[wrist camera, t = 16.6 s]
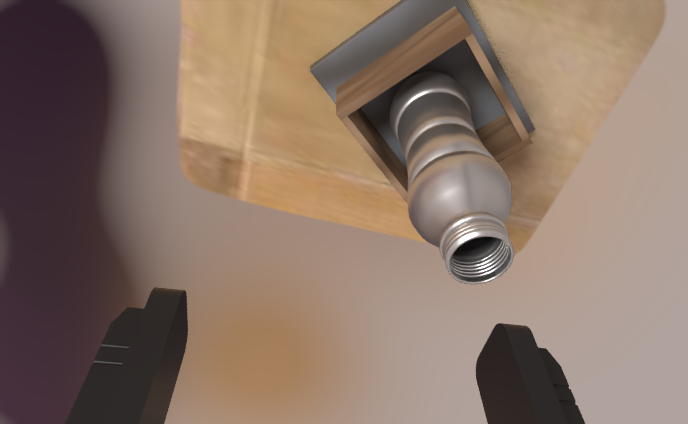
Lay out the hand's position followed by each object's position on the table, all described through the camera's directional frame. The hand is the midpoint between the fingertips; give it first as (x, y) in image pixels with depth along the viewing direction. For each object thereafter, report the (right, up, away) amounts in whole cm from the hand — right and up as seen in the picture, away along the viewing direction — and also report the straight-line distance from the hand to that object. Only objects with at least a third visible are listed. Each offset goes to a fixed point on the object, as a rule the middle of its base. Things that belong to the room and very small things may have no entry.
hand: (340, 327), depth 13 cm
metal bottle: (+7, +13, +30) cm, 33 cm away
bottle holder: (+7, +13, +30) cm, 34 cm away
